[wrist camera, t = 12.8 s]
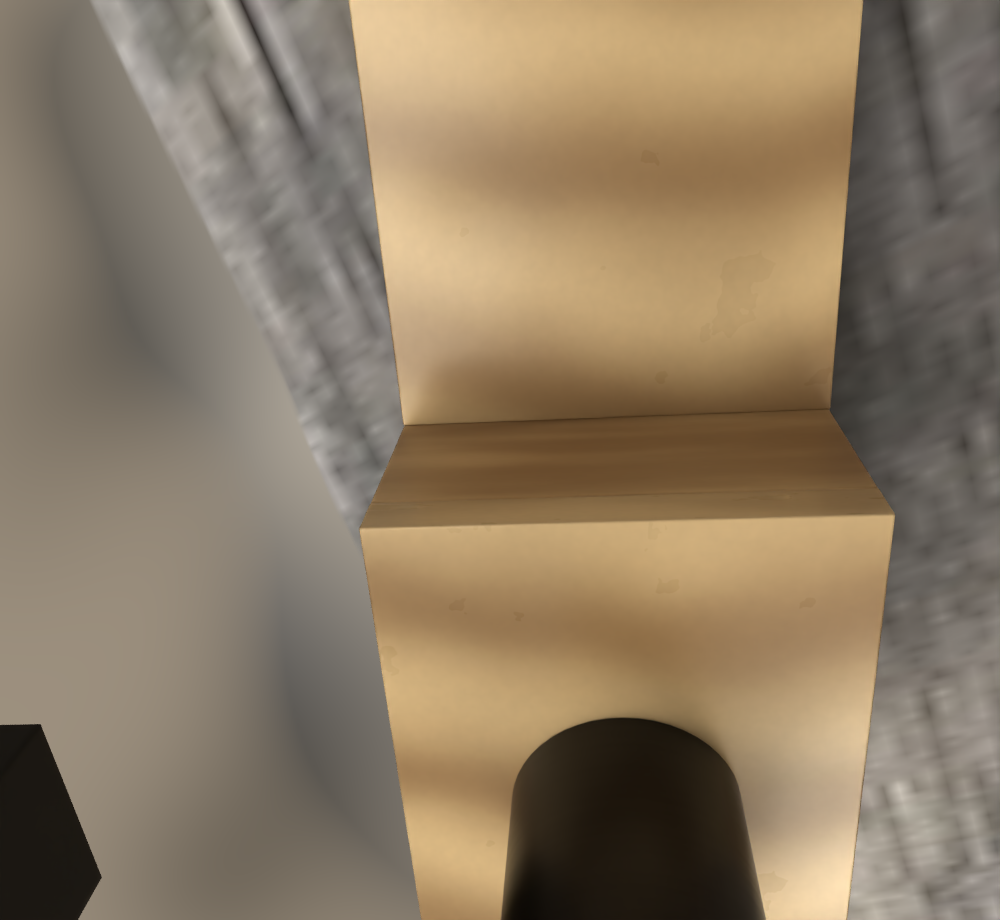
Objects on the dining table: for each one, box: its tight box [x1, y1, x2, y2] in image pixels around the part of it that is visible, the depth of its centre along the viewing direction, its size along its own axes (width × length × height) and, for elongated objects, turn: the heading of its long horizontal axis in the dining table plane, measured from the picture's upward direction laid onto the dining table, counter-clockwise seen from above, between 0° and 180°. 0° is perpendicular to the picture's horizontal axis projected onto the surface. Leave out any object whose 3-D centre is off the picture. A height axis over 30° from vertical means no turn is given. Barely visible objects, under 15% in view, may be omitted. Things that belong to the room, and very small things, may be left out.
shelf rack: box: [349, 0, 895, 920], centre depth 31 cm, size 36×14×13 cm, turn 4°
